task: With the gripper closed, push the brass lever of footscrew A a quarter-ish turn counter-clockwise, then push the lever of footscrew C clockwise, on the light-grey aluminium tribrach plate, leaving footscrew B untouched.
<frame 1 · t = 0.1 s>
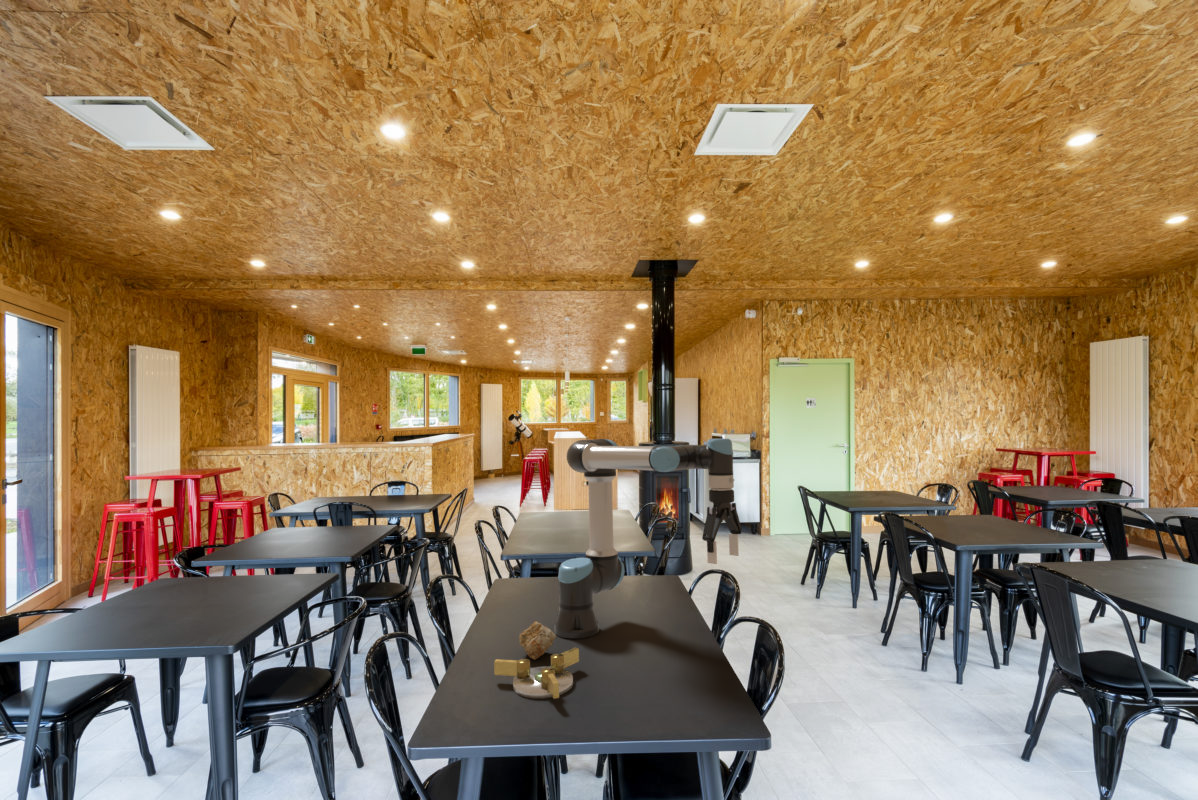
hand: (723, 559, 175), 28 cm above the table, fingers open, 13 cm apart
knob c: (551, 683, 146), point 4 cm above the table, hinge at 0.0°
knob a: (565, 660, 161), point 4 cm above the table, hinge at 0.0°
tribrach plate: (543, 684, 154), on the table
knob b: (512, 668, 156), point 4 cm above the table, hinge at 0.0°
rock: (535, 657, 174), on the table
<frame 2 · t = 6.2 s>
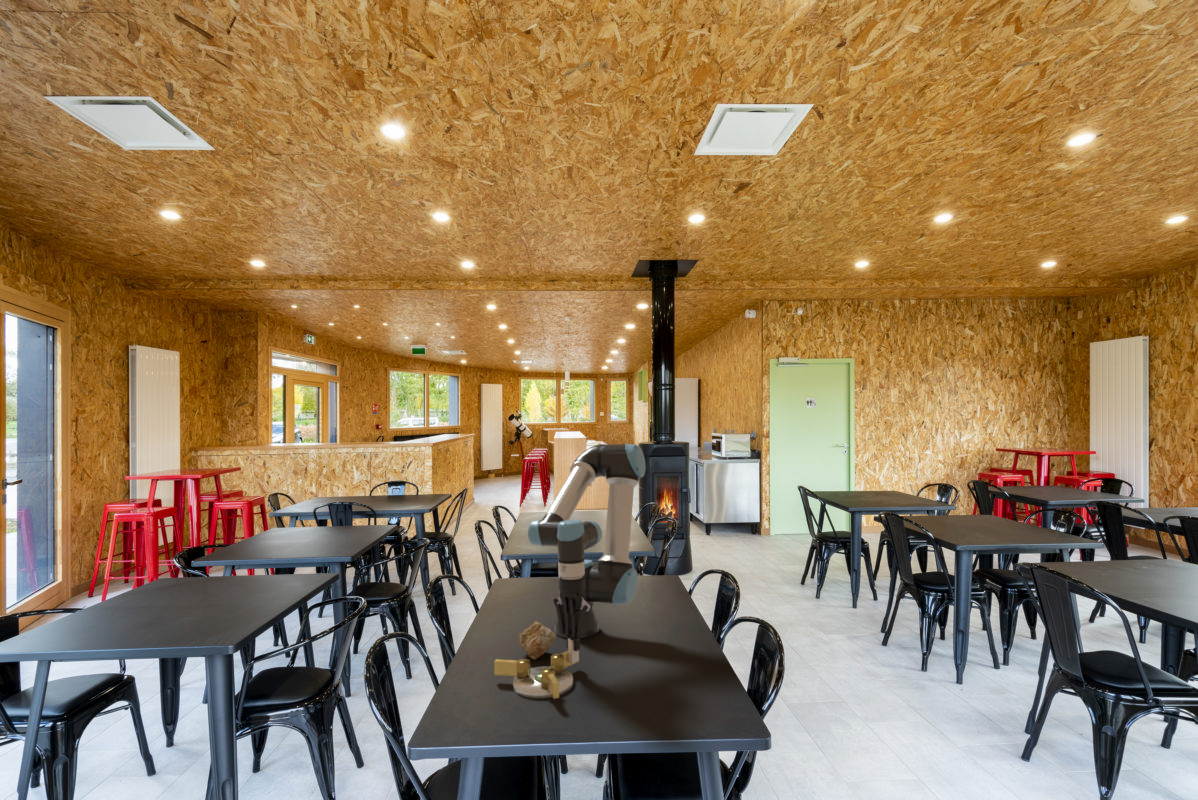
hand: (573, 661, 162), 3 cm above the table, fingers closed
knob a: (565, 660, 161), point 4 cm above the table, hinge at 0.1°, touching gripper
everything else where it was.
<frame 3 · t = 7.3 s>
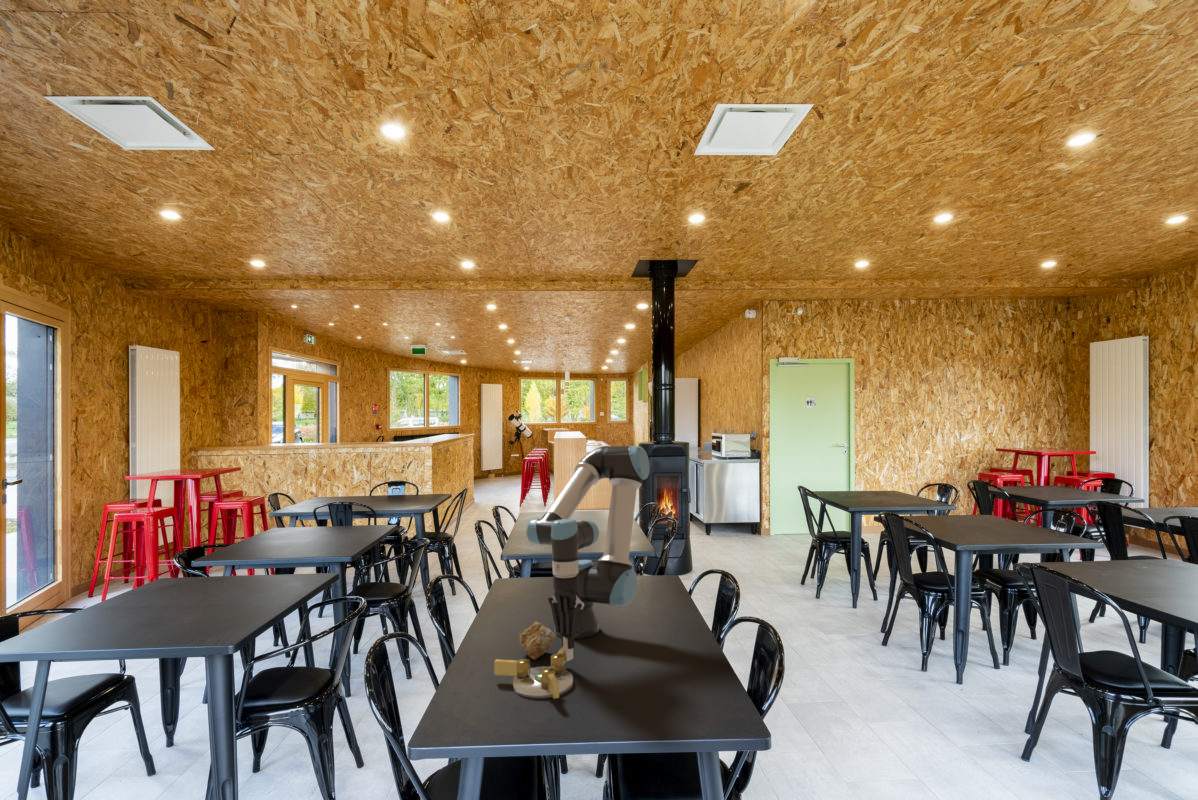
hand: (568, 659, 163), 3 cm above the table, fingers closed
knob a: (560, 659, 162), point 4 cm above the table, hinge at 28.1°, touching gripper
everything else where it was.
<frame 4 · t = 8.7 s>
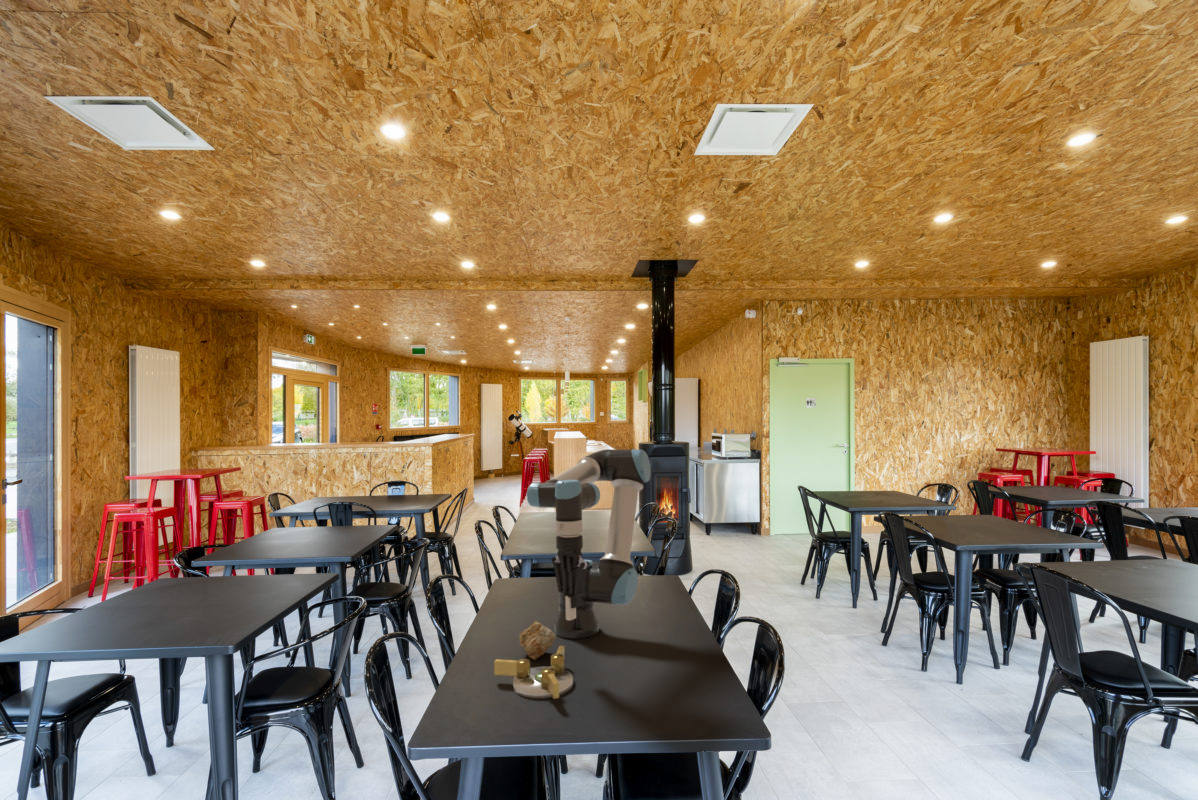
hand: (571, 618, 163), 15 cm above the table, fingers closed
knob a: (559, 659, 162), point 4 cm above the table, hinge at 35.1°
everything else where it was.
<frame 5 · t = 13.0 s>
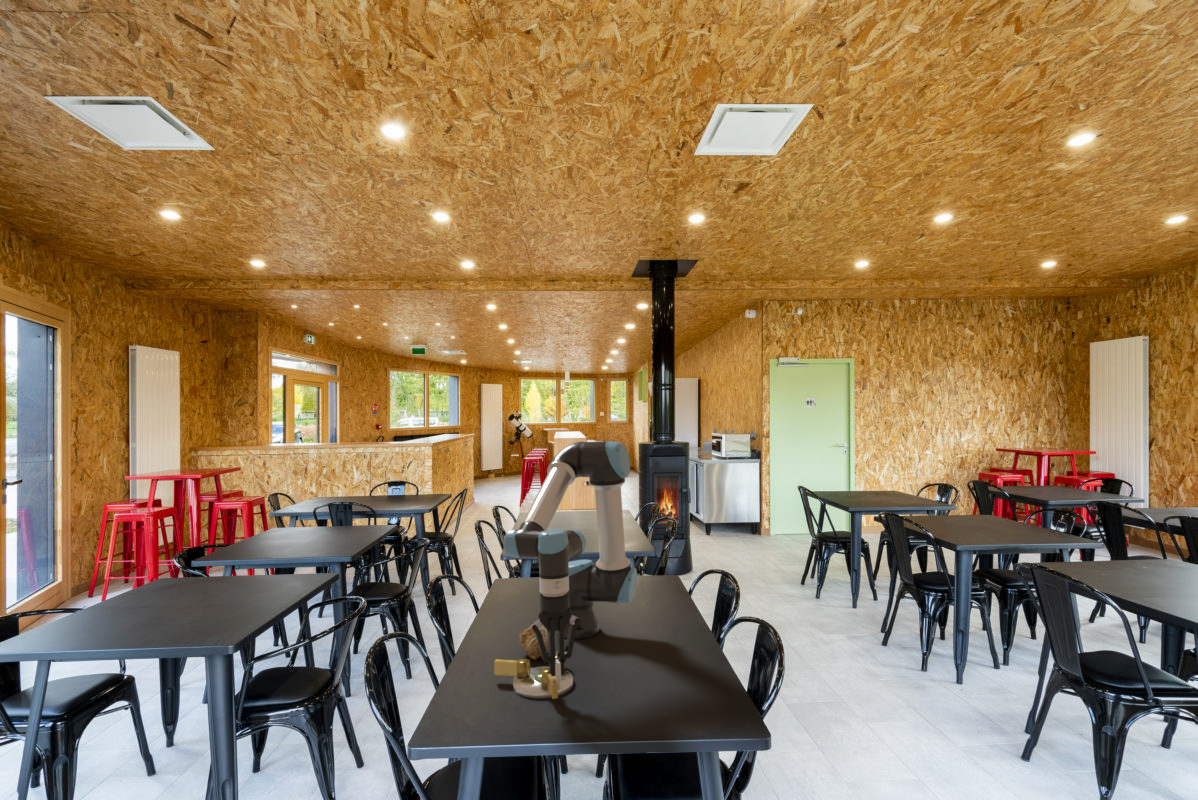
hand: (557, 687, 145), 3 cm above the table, fingers closed
knob c: (550, 683, 146), point 4 cm above the table, hinge at -2.4°, touching gripper
everything else where it was.
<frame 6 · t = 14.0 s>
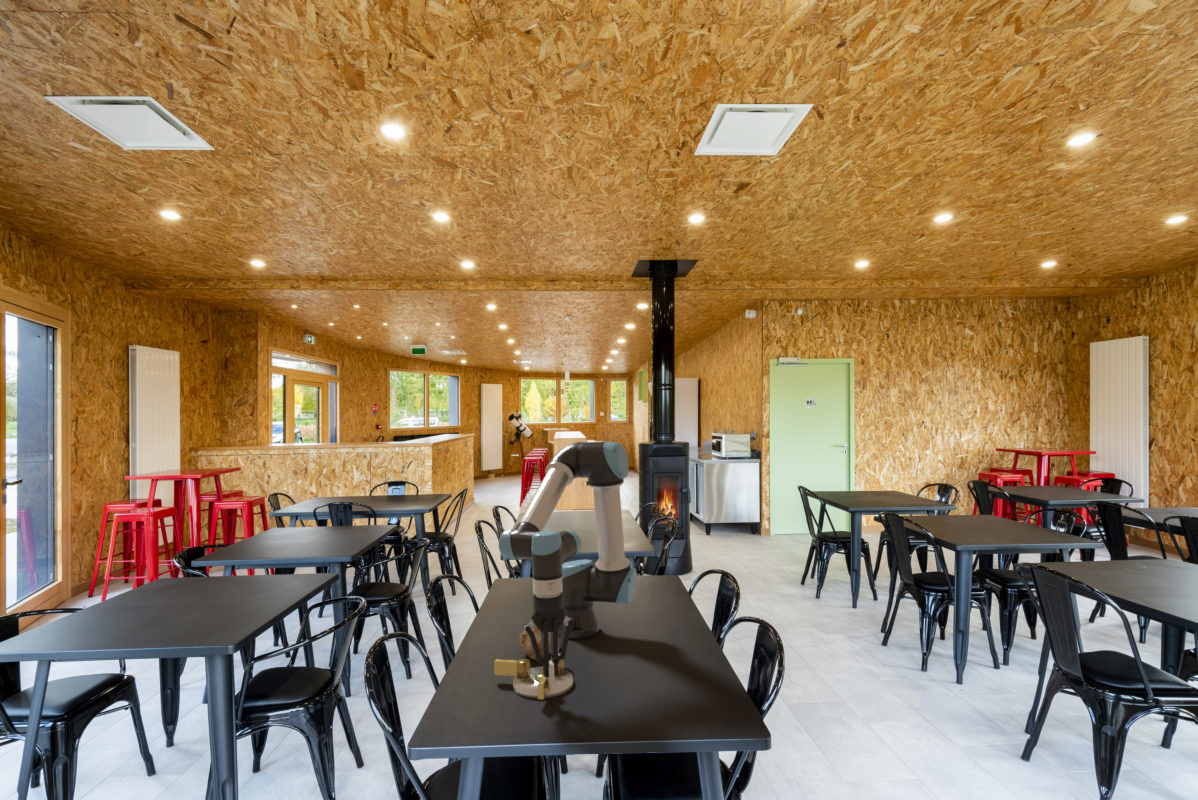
hand: (551, 689, 144), 3 cm above the table, fingers closed
knob c: (545, 683, 146), point 4 cm above the table, hinge at -27.6°, touching gripper
everything else where it was.
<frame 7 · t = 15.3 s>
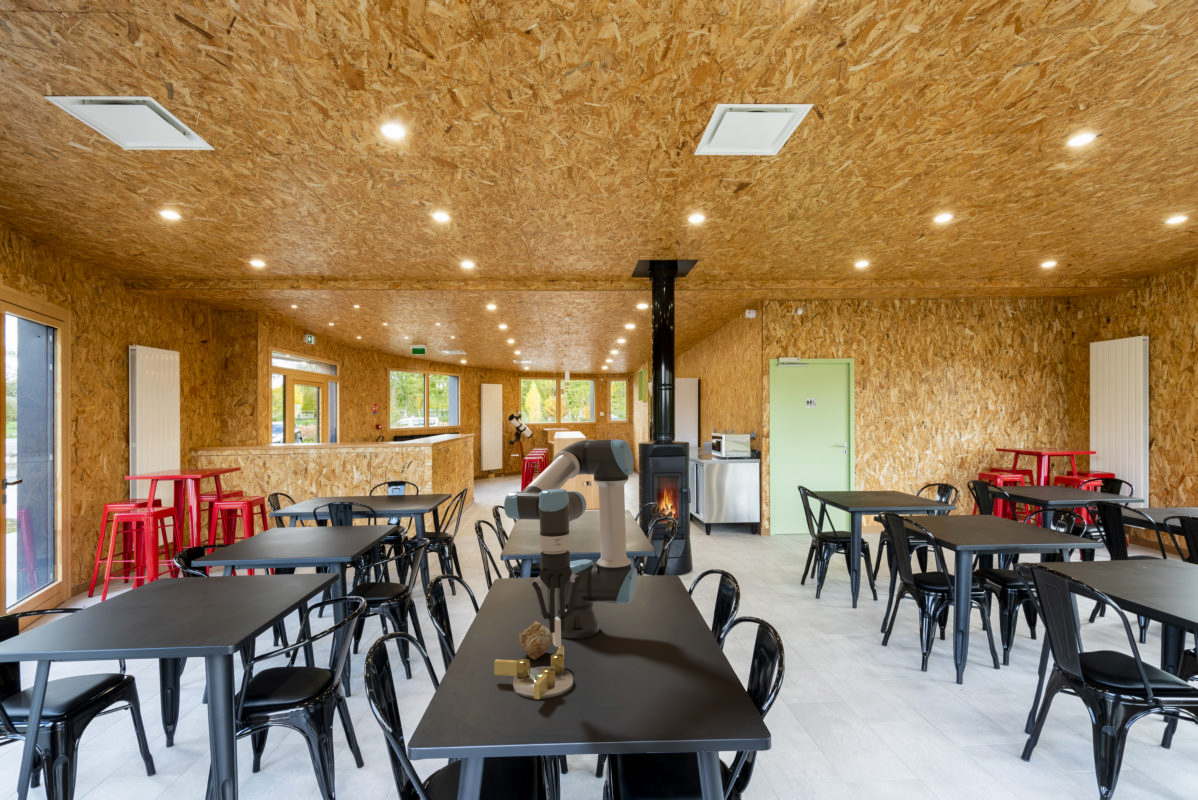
hand: (557, 644, 146), 14 cm above the table, fingers closed
knob c: (543, 683, 146), point 4 cm above the table, hinge at -34.8°
everything else where it was.
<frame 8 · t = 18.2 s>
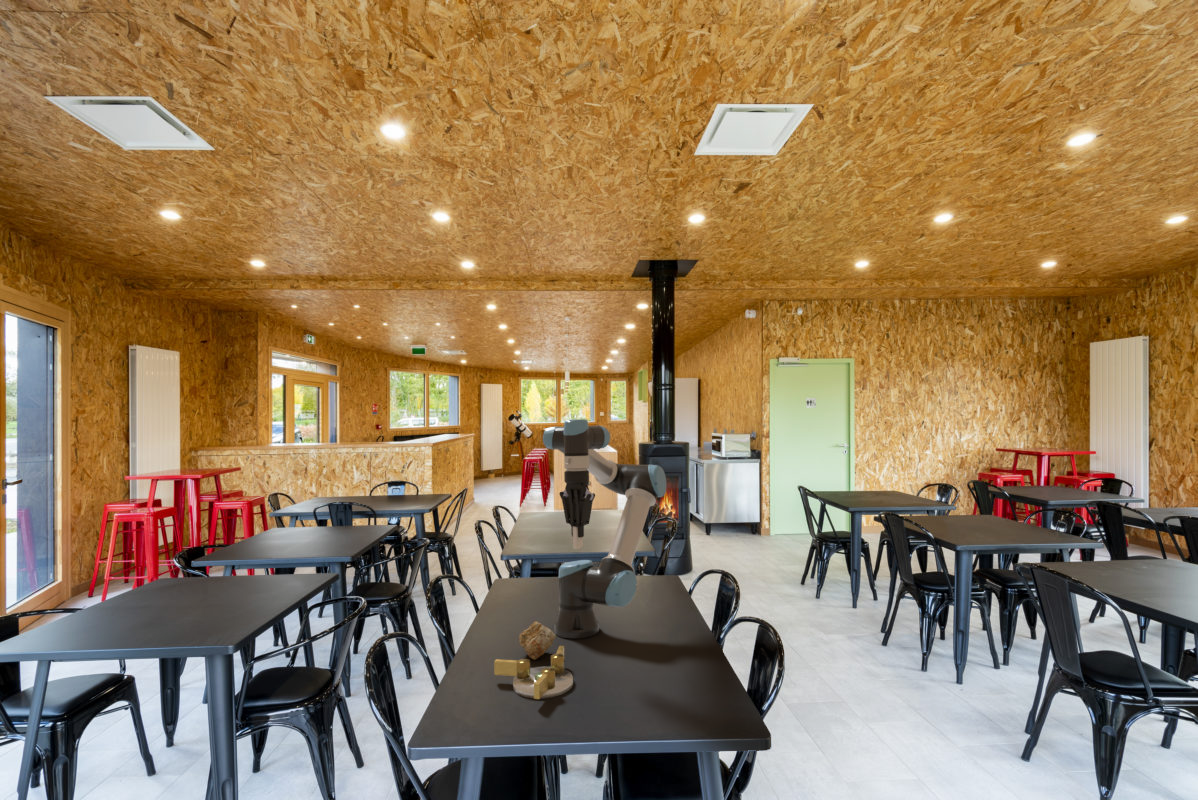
hand: (577, 547, 174), 32 cm above the table, fingers closed
nothing on the table moved.
at the end: knob a at +35° (first picture: +0°); knob c at -35° (first picture: +0°); knob b at +0° (first picture: +0°) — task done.
